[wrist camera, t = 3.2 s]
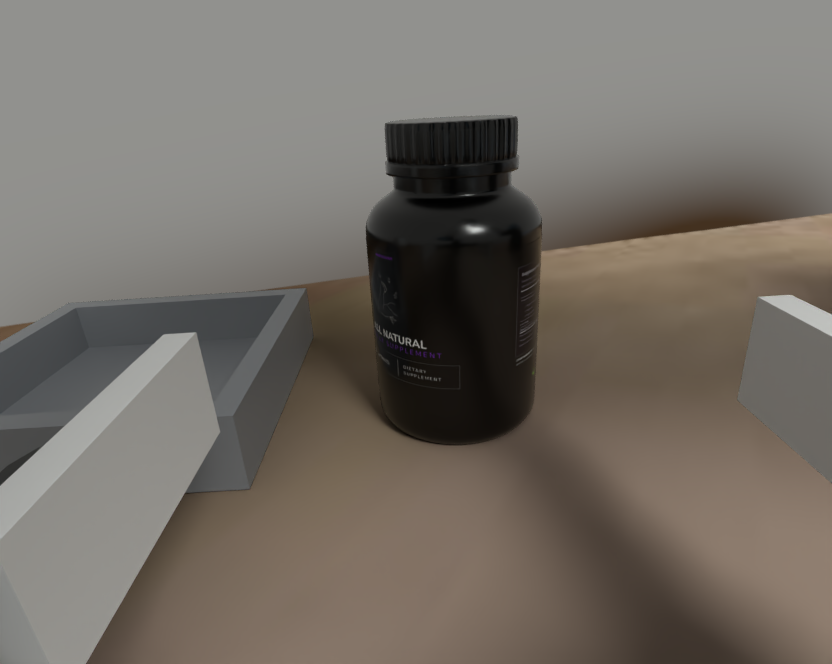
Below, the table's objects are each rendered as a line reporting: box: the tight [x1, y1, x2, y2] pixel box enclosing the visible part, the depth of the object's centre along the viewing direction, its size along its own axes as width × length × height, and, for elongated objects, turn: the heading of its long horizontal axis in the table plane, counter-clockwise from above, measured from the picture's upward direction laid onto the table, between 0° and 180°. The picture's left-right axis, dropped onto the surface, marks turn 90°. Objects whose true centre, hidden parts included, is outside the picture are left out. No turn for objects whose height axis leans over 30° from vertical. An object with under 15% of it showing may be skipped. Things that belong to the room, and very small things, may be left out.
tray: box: [0, 288, 313, 493], centre depth 25 cm, size 14×14×3 cm
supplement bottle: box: [366, 115, 542, 445], centre depth 21 cm, size 7×7×12 cm
